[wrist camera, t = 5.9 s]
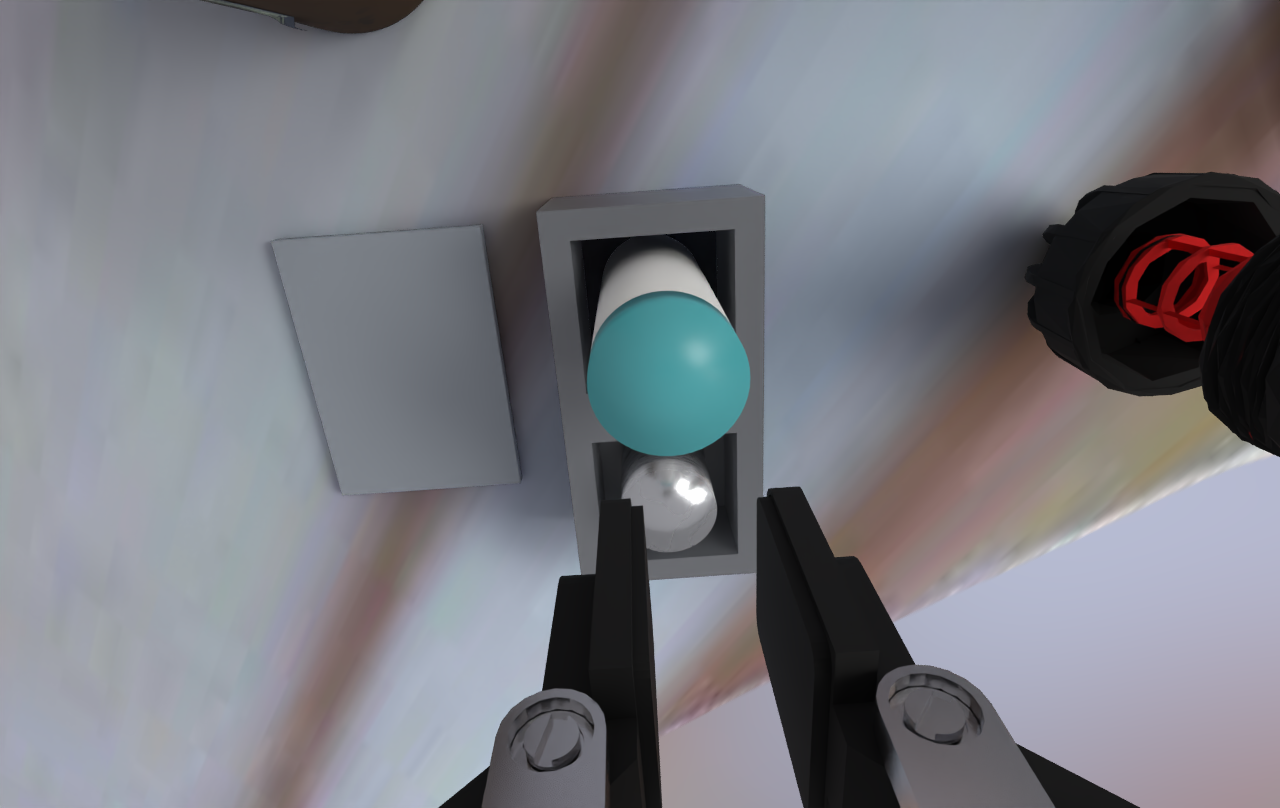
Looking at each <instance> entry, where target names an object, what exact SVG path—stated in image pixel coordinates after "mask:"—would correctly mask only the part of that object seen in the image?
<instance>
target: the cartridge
mask: <svg viewBox="0 0 1280 808" xmlns="http://www.w3.org/2000/svg"><path fill="white" fill-rule="evenodd" d="M749 389H750V367H749V362H748V358H747V355H746V352H745V349H744V347H743V345H742V343H741V342H740V340H739V338H738V336H737V334H736V333H735V331H734V329H733V327H732V325H731V323H730V322H729V320H728V318H727V316H726V314H725V313H724V311H723V309H722V307H721V305H720V303H719V302H718V300H717V298H716V296H715V294H714V293H713V291H712V289H711V287H710V285H709V283H708V282H707V280H706V278H705V276H704V274H703V273H702V271H701V269H700V267H699V265H698V264H697V262H696V260H695V258H694V256H693V255H692V254H691V252H690V251H689V250H688V249H687V248H686V247H685V246H684V245H683V244H682V243H680V242H679V241H677V240H675V239H673V238H671V237H669V236H665V235H661V234H660V235H646V236H635V237H633V238H631V239H629V240H627V241H625V242H624V243H622V244H621V245H620V246H619V247H618V248H617V249H616V250H615V251H614V252H613V253H612V254H611V256H610V257H609V259H608V261H607V263H606V265H605V268H604V272H603V276H602V282H601V289H600V295H599V301H598V308H597V314H596V321H595V327H594V333H593V340H592V346H591V352H590V359H589V365H588V372H587V391H588V397H589V401H590V404H591V407H592V409H593V411H594V413H595V416H596V417H597V419H598V420H599V422H600V423H601V425H602V426H603V427H604V428H605V430H606V431H607V432H608V433H609V434H610V435H611V436H613V437H614V438H615V439H616V440H617V441H619V442H620V443H622V444H623V445H625V446H627V447H629V448H631V449H633V450H636V451H639V452H642V453H645V454H650V455H656V456H677V455H684V454H688V453H692V452H695V451H697V450H700V449H703V448H704V447H706V446H708V445H710V444H712V443H713V442H715V441H716V440H718V439H719V438H721V437H722V436H723V435H724V434H725V433H726V432H727V431H728V430H729V429H730V428H731V427H732V426H733V425H734V423H735V422H736V420H737V419H738V418H739V416H740V414H741V412H742V410H743V408H744V406H745V404H746V401H747V398H748V393H749Z"/></svg>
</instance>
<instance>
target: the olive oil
mask: <svg viewBox="0 0 1280 808" xmlns="http://www.w3.org/2000/svg"><path fill="white" fill-rule="evenodd" d="M201 1H206V2H210V3H215V4H219V5H224V6H228V7H232V8H237V9H241V10H246V11H250V12H255V13H259V14H264V15H268V16H270V17H272V18H274V19H276V20H278V21H279V22H280V23H281V24H284V25H286V26H289V27H292V28H296V29H299V28H297V27H295V22H297V23H301V24H304V25H308V26H312V27H315V28H319V29H323V30H327V31H332V32H339V33H366V32H371V31H376V30H379V29H383V28H385V27H388V26H390V25H392V24H394V23H396V22H398V21H400V20H401V19H403V18H404V17H406V16H407V15H409V14H410V13H411V12H412V11H413V10H414V9H416V8H417V7H418V6H419V4H420V3H421V2H422V1H423V0H201ZM300 30H302V29H300ZM305 31H307V30H305Z"/></svg>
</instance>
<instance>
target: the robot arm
mask: <svg viewBox="0 0 1280 808" xmlns="http://www.w3.org/2000/svg"><path fill="white" fill-rule="evenodd" d="M756 614H757V627H758V634H759V638H760V642H761V646H762V650H763V654H764V657H765V661H766V665H767V669H768V673H769V677H770V681H771V684H772V688H773V692H774V696H775V700H776V704H777V707H778V711H779V715H780V719H781V723H782V727H783V731H784V734H785V738H786V742H787V746H788V749H789V754H790V758H791V761H792V765H793V769H794V773H795V777H796V780H797V784H798V788H799V792H800V796H801V800H802V803H803V807H804V808H1140V807H1138V806H1136V805H1134V804H1132V803H1130V802H1128V801H1126V800H1124V799H1122V798H1120V797H1119V796H1117V795H1115V794H1113V793H1111V792H1109V791H1107V790H1105V789H1103V788H1101V787H1099V786H1097V785H1095V784H1093V783H1092V782H1089V781H1088V780H1086V779H1084V778H1082V777H1080V776H1078V775H1076V774H1074V773H1072V772H1070V771H1068V770H1066V769H1064V768H1063V767H1060V766H1059V765H1057V764H1055V763H1053V762H1051V761H1049V760H1047V759H1045V758H1043V757H1041V756H1039V755H1037V754H1035V753H1034V752H1032V751H1030V750H1028V749H1026V748H1024V747H1022V746H1020V745H1018V744H1016V743H1015V741H1014V740H1013V738H1012V736H1011V735H1010V733H1009V732H1008V730H1007V728H1006V727H1005V725H1004V723H1003V722H1002V720H1001V719H1000V717H999V716H998V714H997V712H996V710H995V709H994V707H993V706H992V704H991V703H990V702H989V700H988V699H987V698H986V697H985V695H984V694H983V693H982V692H981V691H980V690H979V689H978V688H977V687H975V686H974V685H973V684H971V683H970V682H969V681H968V680H966V679H964V678H963V677H960V676H958V675H956V674H954V673H952V672H950V671H948V670H944V669H941V668H937V667H934V666H928V665H915V663H914V661H913V659H912V658H911V656H910V654H909V652H908V650H907V648H906V646H905V644H904V643H903V641H902V639H901V637H900V635H899V633H898V631H897V630H896V628H895V626H894V624H893V622H892V620H891V618H890V616H889V615H888V613H887V611H886V609H885V607H884V605H883V603H882V602H881V600H880V598H879V596H878V594H877V592H876V590H875V589H874V587H873V585H872V583H871V581H870V579H869V577H868V576H867V574H866V572H865V570H864V568H863V566H862V564H861V563H860V561H859V560H858V559H857V558H856V557H854V556H849V557H834V555H833V553H832V551H831V549H830V547H829V545H828V543H827V541H826V538H825V536H824V534H823V532H822V530H821V528H820V526H819V524H818V522H817V520H816V518H815V516H814V514H813V512H812V510H811V508H810V505H809V503H808V501H807V499H806V497H805V495H804V493H803V491H802V489H801V488H800V487H785V488H770V489H768V492H767V497H758V498H757V599H756ZM439 808H662V796H661V776H660V756H659V737H658V718H657V698H656V679H655V660H654V641H653V626H652V613H651V600H650V587H649V574H648V562H647V549H646V536H645V523H644V511H643V505H641V506H632V504H631V498H626V499H612V500H601V503H600V516H599V530H598V544H597V558H596V572H595V574H586V575H571V576H561V577H560V579H559V583H558V589H557V596H556V602H555V609H554V616H553V622H552V629H551V636H550V642H549V649H548V655H547V662H546V669H545V675H544V682H543V689H542V691H541V692H538V693H536V694H534V695H531V696H529V697H527V698H525V699H523V700H522V701H521V702H520V703H518V704H517V705H516V706H514V707H513V708H512V709H511V710H510V711H509V712H508V714H507V715H506V716H505V718H504V719H503V720H502V722H501V724H500V726H499V729H498V732H497V734H496V737H495V742H494V747H493V752H492V757H491V762H490V766H489V767H488V768H487V769H485V770H484V771H483V772H482V773H481V774H479V775H478V776H477V777H476V778H474V779H473V780H472V781H471V782H469V783H468V784H467V785H466V786H465V787H463V788H462V789H461V790H460V791H458V792H457V793H456V794H455V795H453V796H452V797H451V798H450V799H449V800H447V801H446V802H445V803H444V804H442V805H441V806H440V807H439Z"/></svg>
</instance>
